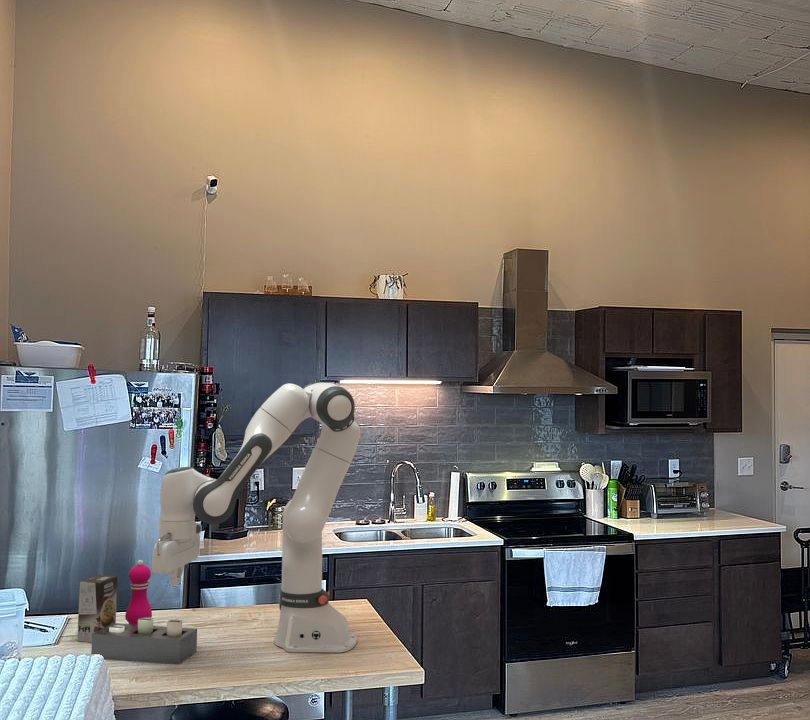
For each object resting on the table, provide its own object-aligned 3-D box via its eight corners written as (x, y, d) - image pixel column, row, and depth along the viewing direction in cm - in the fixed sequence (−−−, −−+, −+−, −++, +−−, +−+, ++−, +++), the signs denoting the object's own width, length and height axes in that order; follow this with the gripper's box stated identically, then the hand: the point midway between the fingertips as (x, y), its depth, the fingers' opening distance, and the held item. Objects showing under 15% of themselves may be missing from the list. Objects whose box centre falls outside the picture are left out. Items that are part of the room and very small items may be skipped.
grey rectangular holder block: (196, 651, 208) (197, 628, 208) (179, 664, 198) (180, 640, 199) (112, 645, 212) (112, 623, 212) (91, 657, 202) (92, 633, 203)
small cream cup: (126, 643, 208) (127, 625, 208) (119, 647, 204) (119, 629, 205) (113, 642, 209) (113, 624, 209) (105, 646, 205) (106, 628, 205)
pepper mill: (146, 634, 222) (148, 562, 223) (120, 634, 222) (123, 562, 223) (155, 627, 229) (157, 557, 230) (130, 626, 230) (132, 556, 231)
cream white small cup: (184, 637, 206) (184, 619, 206) (177, 641, 202) (178, 623, 202) (170, 636, 206) (171, 618, 206) (163, 641, 203) (164, 622, 203)
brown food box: (97, 643, 214) (99, 582, 215) (76, 641, 216) (78, 581, 216) (116, 633, 223) (118, 575, 224) (95, 631, 225) (97, 573, 225)
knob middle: (155, 635, 207) (156, 617, 207) (148, 639, 203) (148, 621, 203) (141, 634, 208) (142, 616, 208) (134, 638, 204) (135, 620, 204)
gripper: (169, 537, 195) (168, 595, 194) (204, 524, 215) (203, 576, 214) (145, 536, 196) (144, 593, 195) (182, 523, 216) (181, 575, 215)
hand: (175, 584), depth 205 cm, fingers closed
